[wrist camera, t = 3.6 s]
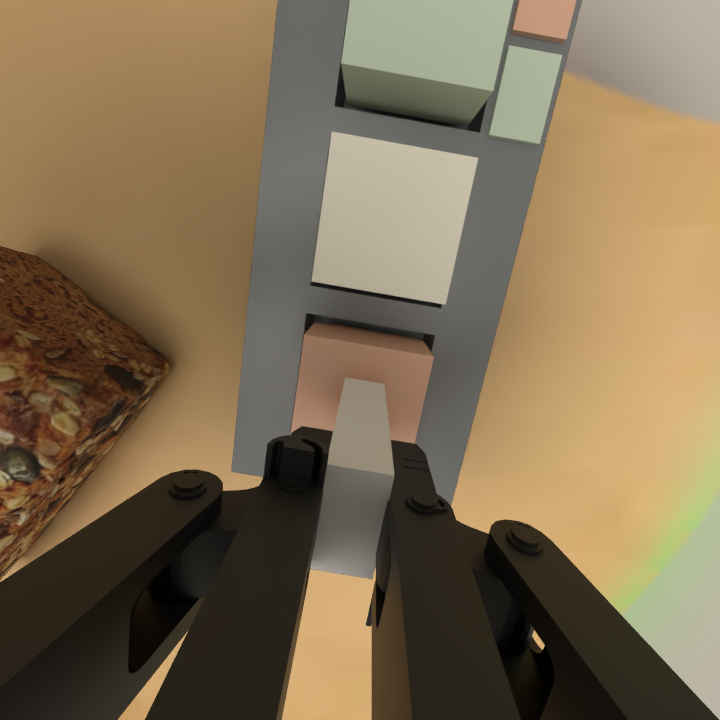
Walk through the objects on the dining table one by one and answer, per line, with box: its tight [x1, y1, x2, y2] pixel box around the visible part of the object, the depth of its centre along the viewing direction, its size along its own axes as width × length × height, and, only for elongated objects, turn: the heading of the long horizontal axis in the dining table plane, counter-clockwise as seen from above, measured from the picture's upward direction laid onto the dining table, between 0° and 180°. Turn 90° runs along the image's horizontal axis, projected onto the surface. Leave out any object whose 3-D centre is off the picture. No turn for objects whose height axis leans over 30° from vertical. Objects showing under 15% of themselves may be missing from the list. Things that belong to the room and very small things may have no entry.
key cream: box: [311, 131, 478, 305], centre depth 16 cm, size 5×5×4 cm
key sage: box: [341, 0, 514, 126], centre depth 14 cm, size 5×5×4 cm
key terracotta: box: [290, 321, 434, 444], centre depth 17 cm, size 5×5×4 cm
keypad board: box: [231, 0, 582, 506], centre depth 18 cm, size 25×11×4 cm, turn 170°
